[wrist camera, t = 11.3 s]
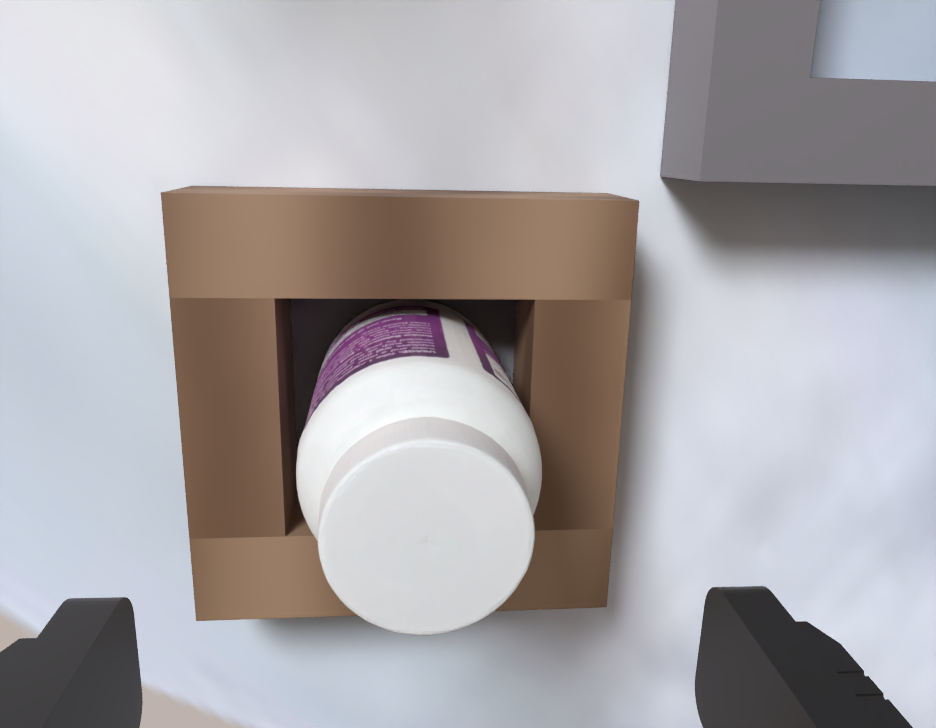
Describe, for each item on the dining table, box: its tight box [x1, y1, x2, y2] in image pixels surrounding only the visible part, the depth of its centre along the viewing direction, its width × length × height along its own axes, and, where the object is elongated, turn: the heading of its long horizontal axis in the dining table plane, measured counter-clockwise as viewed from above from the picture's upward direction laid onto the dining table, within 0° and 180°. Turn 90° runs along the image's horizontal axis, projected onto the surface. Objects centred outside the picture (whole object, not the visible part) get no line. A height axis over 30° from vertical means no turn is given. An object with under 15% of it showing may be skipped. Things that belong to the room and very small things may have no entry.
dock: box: [161, 186, 639, 621], centre depth 22 cm, size 12×12×3 cm
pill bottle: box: [296, 299, 542, 635], centre depth 19 cm, size 5×5×10 cm
